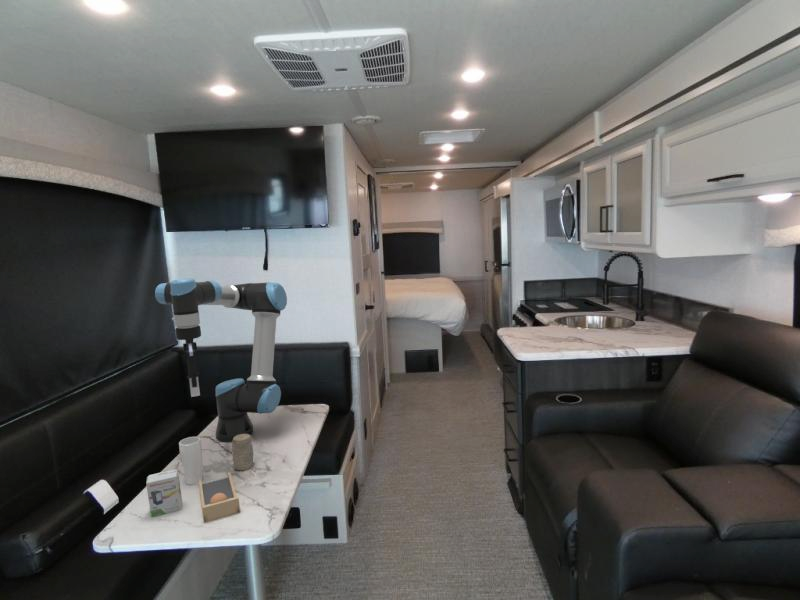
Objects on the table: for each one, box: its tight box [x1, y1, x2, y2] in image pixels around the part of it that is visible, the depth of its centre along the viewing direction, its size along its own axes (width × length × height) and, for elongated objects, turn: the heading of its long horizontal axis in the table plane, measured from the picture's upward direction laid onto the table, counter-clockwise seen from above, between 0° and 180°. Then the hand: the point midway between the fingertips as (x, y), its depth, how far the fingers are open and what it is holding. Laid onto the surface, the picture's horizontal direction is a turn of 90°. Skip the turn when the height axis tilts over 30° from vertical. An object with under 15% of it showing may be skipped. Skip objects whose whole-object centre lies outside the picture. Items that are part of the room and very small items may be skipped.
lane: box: [198, 471, 241, 523], centre depth 148 cm, size 24×10×5 cm, turn 26°
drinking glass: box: [178, 436, 204, 486], centre depth 159 cm, size 7×7×15 cm
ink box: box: [145, 469, 183, 518], centre depth 142 cm, size 9×5×12 cm, turn 114°
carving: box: [231, 434, 255, 471], centre depth 167 cm, size 6×8×12 cm
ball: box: [210, 493, 228, 504], centre depth 141 cm, size 5×5×5 cm
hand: (195, 395), depth 156 cm, fingers closed
